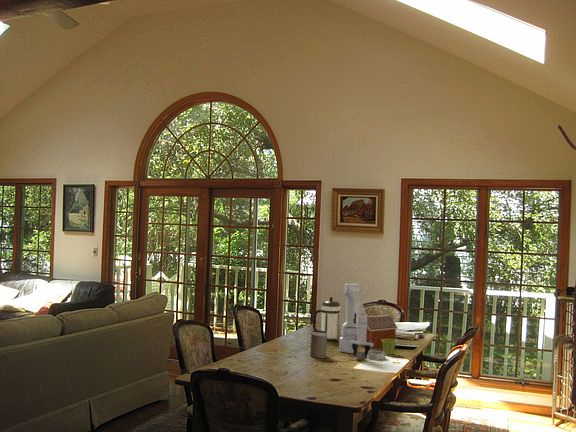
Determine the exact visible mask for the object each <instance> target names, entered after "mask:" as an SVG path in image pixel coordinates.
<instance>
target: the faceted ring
mask: <svg viewBox="0 0 576 432" xmlns="http://www.w3.org/2000/svg"><path fill="white" fill-rule="evenodd" d="M367 358H368V359H370V360H373V361H374V360H375V361H384V360H385V359H386V353H385V352H384V351H383V350H382V351H381V350H369V352H368V354H367Z"/></svg>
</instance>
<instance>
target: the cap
mask: <svg viewBox="0 0 576 432" xmlns="http://www.w3.org/2000/svg"><path fill="white" fill-rule="evenodd" d="M355 358H356V361H360V362H361V361H362V362H363V361H364V362H365V360H366V358H365V351H358V350H357V352H356V357H355Z"/></svg>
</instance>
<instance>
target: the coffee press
mask: <svg viewBox="0 0 576 432" xmlns="http://www.w3.org/2000/svg"><path fill="white" fill-rule="evenodd" d="M341 309H342V306H341V304H340V302H339V301H336V300H333V296H330V297H329V300H328V299H327V300H324V301H322V303H321V309H317V310H315V311H314V313H313V315H312V316H313V317H312V329H313V331H314V333H325V334H327V340H336V341H337V342H339V340H340V337H339V333H340V332H339V327H340V311H341ZM319 313H321V330H319V329H316V328H317V327H316V323H317V321H316V319H317V315H318V314H319Z"/></svg>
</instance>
